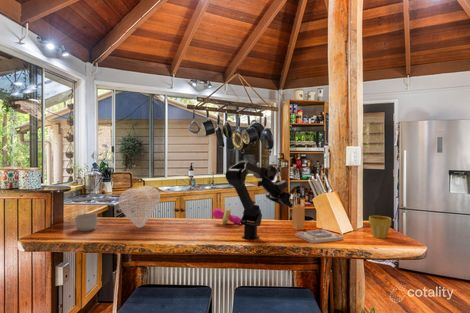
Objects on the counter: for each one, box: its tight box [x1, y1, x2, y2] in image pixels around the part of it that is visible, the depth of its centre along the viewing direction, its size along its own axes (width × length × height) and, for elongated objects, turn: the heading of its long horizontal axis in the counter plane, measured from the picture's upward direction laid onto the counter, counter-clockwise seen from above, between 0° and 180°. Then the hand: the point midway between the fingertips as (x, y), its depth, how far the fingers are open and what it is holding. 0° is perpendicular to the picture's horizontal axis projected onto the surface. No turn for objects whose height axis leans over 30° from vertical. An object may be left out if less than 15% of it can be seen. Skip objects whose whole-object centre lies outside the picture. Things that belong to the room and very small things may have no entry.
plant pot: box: [368, 215, 392, 239], centre depth 158 cm, size 10×10×10 cm
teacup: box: [74, 212, 98, 232], centre depth 167 cm, size 14×11×8 cm
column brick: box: [291, 203, 306, 231], centre depth 173 cm, size 5×5×13 cm
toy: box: [212, 207, 242, 226], centre depth 183 cm, size 10×18×10 cm, turn 83°
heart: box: [118, 185, 161, 229], centre depth 172 cm, size 28×16×22 cm, turn 168°
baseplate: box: [294, 229, 344, 244], centre depth 155 cm, size 18×14×3 cm
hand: (287, 206), depth 171 cm, fingers open, 9 cm apart
